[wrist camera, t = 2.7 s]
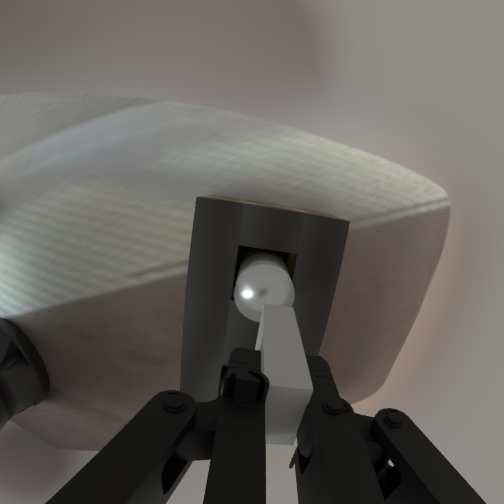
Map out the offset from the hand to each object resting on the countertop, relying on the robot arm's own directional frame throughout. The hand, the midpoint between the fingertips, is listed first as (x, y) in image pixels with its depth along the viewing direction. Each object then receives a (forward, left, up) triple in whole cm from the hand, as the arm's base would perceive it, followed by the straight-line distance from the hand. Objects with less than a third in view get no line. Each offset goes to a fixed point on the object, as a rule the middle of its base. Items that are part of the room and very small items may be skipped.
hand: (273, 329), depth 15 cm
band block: (0, -6, -15) cm, 16 cm away
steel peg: (0, 0, -11) cm, 11 cm away
